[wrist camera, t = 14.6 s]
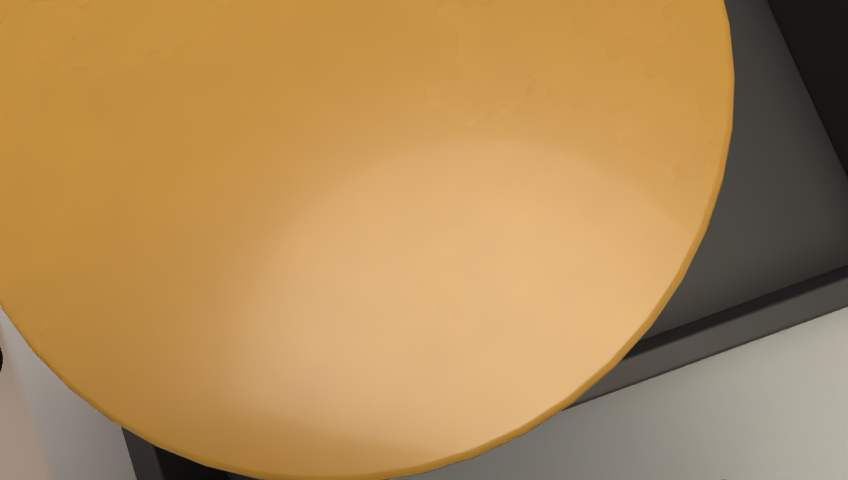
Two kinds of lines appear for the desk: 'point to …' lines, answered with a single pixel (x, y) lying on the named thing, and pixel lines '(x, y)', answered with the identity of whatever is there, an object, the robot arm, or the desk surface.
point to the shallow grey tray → (734, 210)
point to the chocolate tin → (351, 213)
